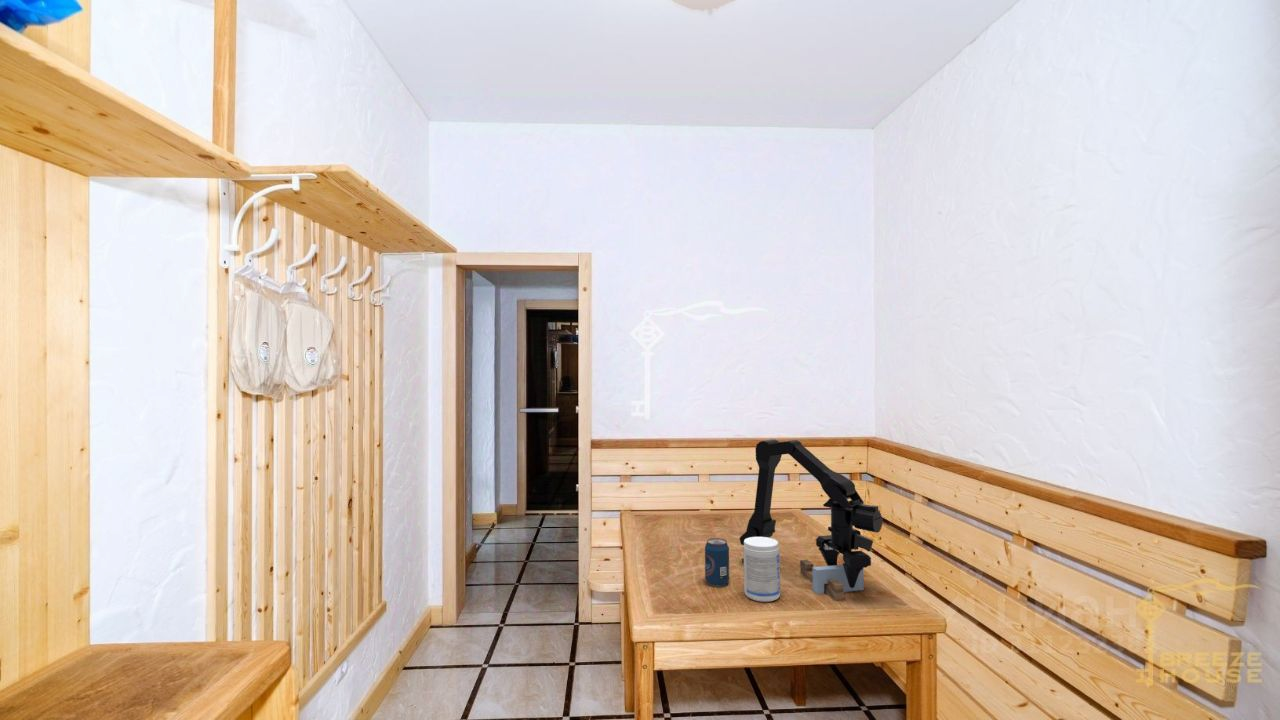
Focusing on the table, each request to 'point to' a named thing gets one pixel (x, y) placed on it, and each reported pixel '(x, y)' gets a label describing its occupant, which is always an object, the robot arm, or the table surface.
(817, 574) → the light blue slab
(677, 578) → the table surface
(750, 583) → the supplement tub
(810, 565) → the notched rail
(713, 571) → the soda can
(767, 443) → the robot arm
